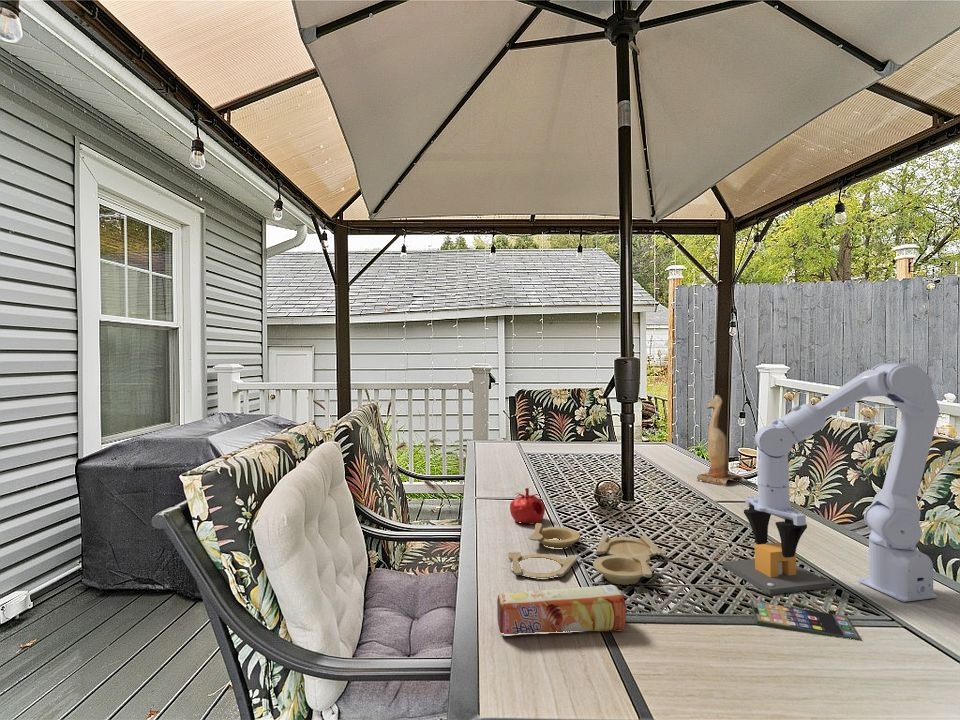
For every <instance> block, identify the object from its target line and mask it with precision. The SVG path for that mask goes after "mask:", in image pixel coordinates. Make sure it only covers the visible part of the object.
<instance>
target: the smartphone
mask: <svg viewBox="0 0 960 720" xmlns="http://www.w3.org/2000/svg"><path fill="white" fill-rule="evenodd" d="M750 605H751V609H752V613H753V616H754V619H755V622H756V625H757V626H760V625H761V627H766V626H767V627H766V628H772V627H773V628H772V629H779V630H786V631H787V630H788V631H792V630H793V632H800V633H807V634H813V635H820V636H826V635H827V637H832V636H835V637H834V638H839V637H843V638H842V639H846V638H849V639H848V640H852V639H855V640H854V641H859V640H860V642H861V641H863V640H862V637H861V636H860V635H859V633H858V632H857V629H856V628H855V627H854V625H853V624H852V622H851V620H850V619H849V617H848V616H846V615H845V616H844V615H840V614H834V613H828V612H821V611H816V610H811V609H809V610H808V609H803V608H798V607H790V606H785V605H779V604H772V603H766V602H761V601H755V600H750ZM850 638H851V639H850Z"/></svg>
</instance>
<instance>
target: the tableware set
mask: <svg viewBox="0 0 960 720" xmlns="http://www.w3.org/2000/svg"><path fill="white" fill-rule="evenodd" d="M534 525H535V526H534V532H533V533H531V534H529V535H528V539H529V540H530V541H537V542H539V543H541V545H542V544H543V545H545V546H548V547H554V548H566V547H569V546H570V547H571V546H572V545H573V544H575V543H577V542H578V541H580V539H581V534H580V532H579V531H576V530H575V529H571V528H566V527H560V526H551V527H550V526H549V527H543V523H541V522H539V523H536V524H534ZM553 538H557V539H561V540H549V539H553ZM543 545H542V546H543ZM570 547H569V548H570ZM595 553H596V554H597V555H604V554H605V556H600V557H598V558H596V559H595V560H594V561H593V563H592V565H593V566H592V567H593V568H594V570H595V571H596V572H598V573H600V574H601V575H603V577H604V578H605V579H607V580H606V581H608V582H609V583H612V584H615V585H620V584H621V585H622V586H625V585H626V586H629V584H631V585H634V584H637V583H638V582H639V580H640V579H641V578H642V577H645V578H652V577H653V573H652V570H651V566H650V564H649V562H650V560H651V558H653V557H654V556H656V555H662V556H666V555H667V552H666V551H665V550H664V549H662V548H660V547H657V546H656V545H655V544H654V543H653V542H652V541H651V539H650V538H649V537H648V536H647V535H640V538H637V537H631V536H630V537H626V536H623V537H622V536H617V537H611V538H609V535H608V534H603V535H601V538H600V541H599V543H598V546H597V549H596V550H595ZM507 555H508V559H509V560H511V561H513V567H512V568H513V570H514V572H513V575H514V576H519V575H525V576H529V577H536V578H550V577H554V576H558V578H562V577H564V576H565V575H566V574H565V573H567V572H568V571H569V572H570V570H571V567H572V566H573V565H574V564H575V563H576V562H577V561H578V560H579V556H578V555H575V554H571V555H568V556H566V557H565V558H562V557H559V556H557V555H553V554H552V555H551V554H545V553H531V554H529V553H528V554H524V555H522V553H521V552H520V551H508V552H507ZM528 558H546V559H550V560H554V561H556V562H558V563H559V564H560V565H561V568H560V569H559V570H557V571H555V572H551V573H533V572H531V571H529V570H525V569H524V570H523V569H521V567H520V564H519V562H520V561H522V560H525V559H528ZM569 572H568V573H569ZM568 573H567V574H568ZM564 574H565V575H564Z"/></svg>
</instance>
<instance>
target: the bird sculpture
mask: <svg viewBox="0 0 960 720" xmlns="http://www.w3.org/2000/svg"><path fill="white" fill-rule="evenodd" d="M723 404H724V403H723V398H722V397H721V395H719V394H715V395H714V397H713V399H711V400H710V401H708V402H707V405H706V408H707V409H713V412H712V414H711V416H710V417H711V418H710V421H709V423H708V430H707V457H708V460H709V463H711V464H710V465H709V469H708V472H705V473H701V474H698V475H697V476H696V480H697V479H698V480H702V481H706V482H710V483H709V484H712V483H713V485H716V484H717V485H718V486H721V485H724V486H723V487H726V486H727V482H728V480H729V481H730V479H731V480H733V481H734V480H735V481H738V482H741V481H742V480H743V477H742V476H741V475H734V474H729V448H728V447H729V442H728V438H727V435H726V434H725V432H724V431H723V430H722V429H721V428H720V427H719V418H720V413H721V409H722V407H723ZM702 481H701V482H702ZM706 482H705V483H706Z"/></svg>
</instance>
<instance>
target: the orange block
mask: <svg viewBox="0 0 960 720" xmlns="http://www.w3.org/2000/svg"><path fill="white" fill-rule="evenodd" d="M754 559H755V569H756V570H758V571H760V572H762V573H764V574H766V575H767V576H769V577H778V562H780V561H781V562H782V572H783V573H785V574H787V575H796V565H797V550H796V551H795V555H794V557H788V558H785V557H783V554H782V548H781V542H773V543H766V544H759V545H758V544H754Z"/></svg>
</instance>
